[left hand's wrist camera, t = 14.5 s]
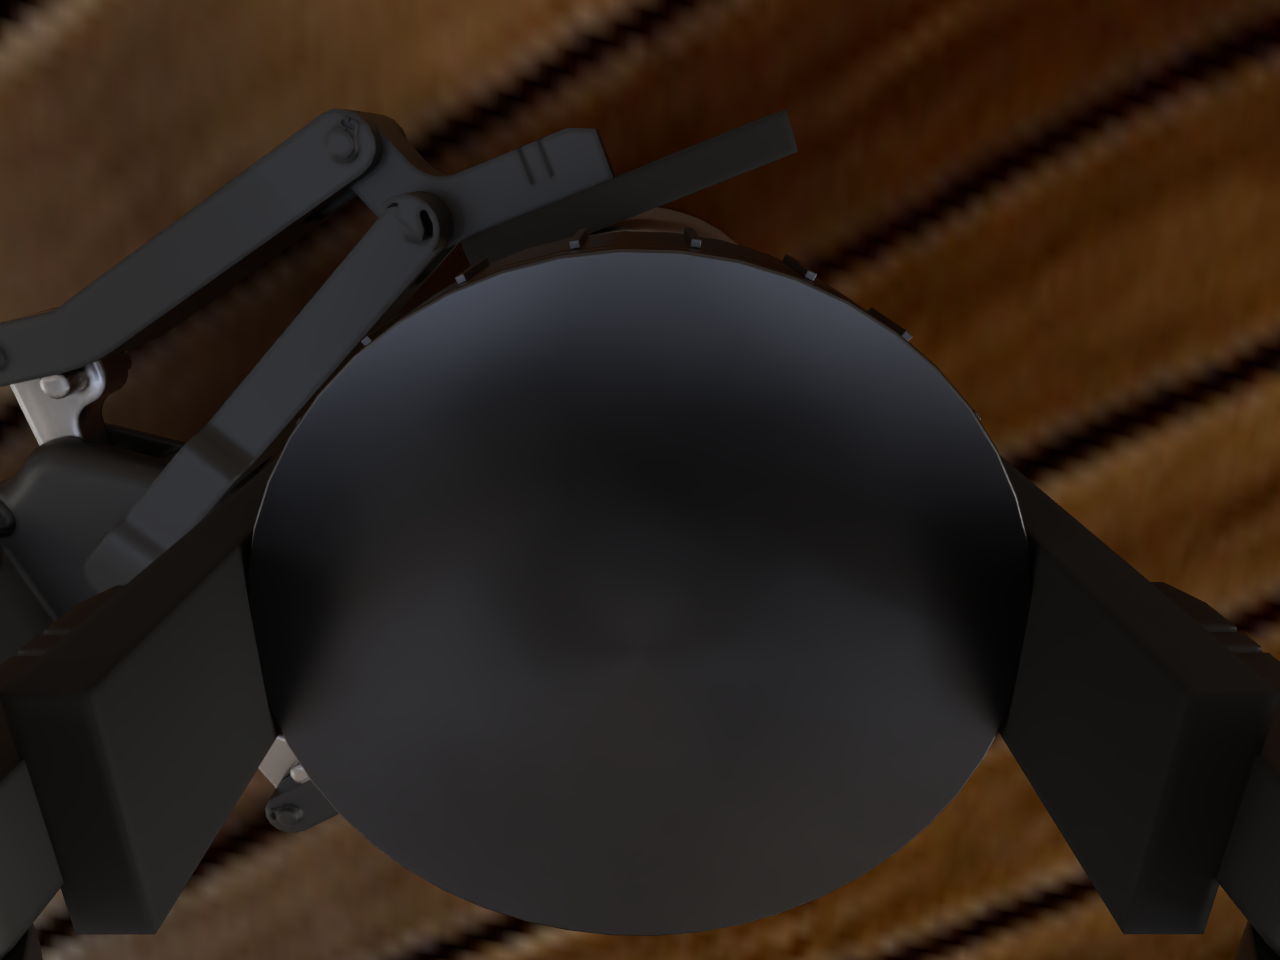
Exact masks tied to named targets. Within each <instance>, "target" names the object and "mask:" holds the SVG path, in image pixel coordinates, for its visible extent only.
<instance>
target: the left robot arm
mask: <svg viewBox="0 0 1280 960" xmlns="http://www.w3.org/2000/svg"><path fill="white" fill-rule="evenodd" d="M279 456H280V455H279ZM279 456H278V457H277V458H275V459H274V460H273V461H272V462H271V463H270V464H268V465H267V466H266V467H265V468H264V469H262V470H261V471H260V472H259V473H258V474H257V475H255V476H254V477H253V478H252V479H251V480H249V481H248V482H247V483H246V484H245V485H243V486H242V487H241V488H240V489H239V490H238V491H236V492H235V493H234V494H233V495H232V496H230V497H229V498H228V499H227V500H226V501H225V502H223V503H222V504H221V505H220V506H219V507H217V508H216V509H215V510H214V511H213V512H211V513H210V514H209V515H208V516H207V517H206V518H204V519H203V520H202V521H201V522H200V523H198V524H197V525H196V526H195V527H194V528H193V529H191V530H190V531H189V532H188V533H187V534H185V535H184V536H183V537H182V538H181V539H179V540H178V541H177V542H176V543H175V544H174V545H172V546H171V547H170V548H169V549H168V550H166V551H165V552H164V553H163V554H162V555H161V556H159V557H158V558H157V559H156V560H155V561H153V562H152V563H151V564H150V565H149V566H147V567H146V568H145V569H144V570H143V571H142V572H140V573H139V574H138V575H137V576H136V577H134V578H133V579H132V580H131V581H130V582H129V583H127V584H126V585H116V586H114V587H112V588H110V589H108V590H106V591H104V592H102V593H100V594H98V595H96V596H93V597H91V598H89V599H87V600H85V601H83V602H81V603H79V604H77V605H75V606H73V607H72V608H71V609H70V610H68V611H67V612H66V613H65V614H63V615H62V616H61V617H60V618H58V619H57V620H56V621H55V622H53V623H52V624H51V625H50V626H48V627H47V628H46V629H45V630H44V634H43V635H37V636H36V637H35V638H34V639H32V640H31V641H30V642H29V643H27V644H26V645H25V646H24V647H22V648H21V649H20V650H19V651H18V656H11V657H10V658H9V659H7V660H6V661H5V662H4V663H2V664H1V665H0V960H42V954H41V947H40V942H39V939H38V936H37V933H36V930H35V927H34V925H33V922H34V921H35V920H36V918H37V917H38V916H39V914H40V913H41V912H42V911H43V909H44V908H45V907H46V906H47V904H48V903H49V902H50V900H51V899H52V898H53V897H54V895H55V894H56V893H57V892H58V890H59V889H60V888H61V890H62V893H63V896H64V900H65V903H66V906H67V909H68V912H69V915H70V918H71V921H72V924H73V927H74V931H75V934H156V932H157V931H158V929H159V927H160V926H161V924H162V923H163V921H164V919H165V918H166V916H167V914H168V913H169V911H170V910H171V908H172V906H173V905H174V903H175V902H176V900H177V898H178V897H179V895H180V893H181V892H182V890H183V889H184V887H185V885H186V884H187V882H188V880H189V879H190V877H191V876H192V874H193V872H194V871H195V869H196V868H197V866H198V864H199V863H200V861H201V859H202V858H203V856H204V855H205V853H206V851H207V850H208V848H209V847H210V845H211V843H212V842H213V840H214V838H215V837H216V835H217V834H218V832H219V830H220V829H221V827H222V825H223V824H224V822H225V821H226V819H227V817H228V816H229V814H230V813H231V811H232V809H233V808H234V806H235V804H236V803H237V801H238V800H239V798H240V796H241V795H242V793H243V792H244V790H245V788H246V787H247V785H248V783H249V782H250V780H251V779H252V777H253V775H254V774H255V772H256V770H257V769H258V767H259V766H260V764H261V762H262V761H263V759H264V758H265V756H266V754H267V753H268V751H269V749H270V748H271V746H272V745H273V743H274V741H275V740H276V738H277V736H278V735H279V733H280V732H281V730H280V728H279V726H278V724H277V722H276V720H275V718H274V716H273V714H272V711H271V709H270V707H269V705H268V701H267V697H266V692H265V687H264V683H263V677H262V672H261V667H260V661H259V656H258V651H257V645H256V640H255V635H254V629H253V624H252V619H251V613H250V607H249V601H248V589H247V571H248V564H249V557H250V550H251V543H252V535H253V528H254V524H255V521H256V517H257V514H258V511H259V507H260V504H261V501H262V497H263V494H264V491H265V488H266V484H267V481H268V479H269V477H270V474H271V472H272V470H273V468H274V466H275V464H276V462H277V460H278V458H279ZM1000 457H1001V456H1000ZM1001 459H1002V461H1003V464H1004V466H1005V469H1006V471H1007V473H1008V476H1009V478H1010V480H1011V483H1012V485H1013V488H1014V490H1015V492H1016V495H1017V498H1018V502H1019V506H1020V510H1021V514H1022V518H1023V522H1024V526H1025V530H1026V534H1027V538H1028V544H1029V555H1030V566H1031V577H1032V597H1031V603H1030V609H1029V615H1028V620H1027V626H1026V631H1025V636H1024V642H1023V647H1022V652H1021V658H1020V663H1019V668H1018V674H1017V679H1016V684H1015V689H1014V694H1013V698H1012V701H1011V704H1010V707H1009V709H1008V712H1007V715H1006V718H1005V720H1004V722H1003V724H1002V725H1001V727H1000V729H999V733H1000V735H1001V736H1002V738H1003V740H1004V741H1005V743H1006V744H1007V746H1008V748H1009V749H1010V751H1011V752H1012V754H1013V756H1014V757H1015V759H1016V761H1017V762H1018V764H1019V765H1020V767H1021V769H1022V770H1023V772H1024V774H1025V775H1026V777H1027V778H1028V780H1029V782H1030V783H1031V785H1032V786H1033V788H1034V790H1035V791H1036V793H1037V795H1038V796H1039V798H1040V799H1041V801H1042V803H1043V804H1044V806H1045V808H1046V809H1047V811H1048V812H1049V814H1050V816H1051V817H1052V819H1053V820H1054V822H1055V824H1056V825H1057V827H1058V829H1059V830H1060V832H1061V833H1062V835H1063V837H1064V838H1065V840H1066V842H1067V843H1068V845H1069V846H1070V848H1071V850H1072V851H1073V853H1074V854H1075V856H1076V858H1077V859H1078V861H1079V863H1080V864H1081V866H1082V867H1083V869H1084V871H1085V872H1086V874H1087V875H1088V877H1089V879H1090V880H1091V882H1092V884H1093V885H1094V887H1095V888H1096V890H1097V892H1098V893H1099V895H1100V897H1101V898H1102V900H1103V901H1104V903H1105V905H1106V906H1107V908H1108V909H1109V911H1110V913H1111V914H1112V916H1113V918H1114V919H1115V921H1116V922H1117V924H1118V926H1119V927H1120V929H1121V931H1122V932H1123V934H1203V933H1204V930H1205V927H1206V924H1207V921H1208V918H1209V915H1210V912H1211V908H1212V905H1213V902H1214V899H1215V896H1216V893H1217V890H1218V887H1219V884H1220V885H1221V887H1222V888H1223V889H1224V891H1225V892H1226V893H1227V894H1228V896H1229V897H1230V898H1231V899H1232V901H1233V902H1234V903H1235V904H1236V906H1237V907H1238V908H1239V910H1240V911H1241V912H1242V913H1243V915H1244V916H1245V917H1246V918H1247V920H1248V922H1247V925H1246V927H1245V930H1244V933H1243V936H1242V939H1241V942H1240V945H1239V948H1238V951H1237V954H1236V956H1235V959H1234V960H1280V662H1279V661H1278V660H1277V659H1276V658H1274V657H1273V656H1272V655H1271V654H1269V653H1262V647H1261V646H1259V645H1258V644H1257V643H1256V642H1254V641H1253V640H1252V639H1251V638H1249V637H1248V636H1247V635H1245V634H1244V633H1243V632H1237V631H1236V627H1235V626H1234V625H1233V624H1232V623H1230V622H1229V621H1228V620H1227V619H1225V618H1224V617H1223V616H1222V615H1220V614H1219V613H1218V612H1217V611H1215V610H1214V609H1213V608H1212V607H1210V606H1209V605H1208V604H1207V603H1205V602H1203V601H1201V600H1199V599H1197V598H1195V597H1193V596H1191V595H1189V594H1187V593H1184V592H1182V591H1180V590H1178V589H1176V588H1174V587H1172V586H1170V585H1168V584H1166V583H1164V582H1149V581H1148V580H1147V579H1146V578H1145V577H1143V576H1142V575H1141V574H1140V573H1139V572H1137V571H1136V570H1135V569H1134V568H1133V567H1132V566H1130V565H1129V564H1128V563H1127V562H1126V561H1124V560H1123V559H1122V558H1121V557H1120V556H1119V555H1117V554H1116V553H1115V552H1114V551H1113V550H1111V549H1110V548H1109V547H1108V546H1107V545H1105V544H1104V543H1103V542H1102V541H1101V540H1100V539H1098V538H1097V537H1096V536H1095V535H1094V534H1092V533H1091V532H1090V531H1089V530H1088V529H1087V528H1085V527H1084V526H1083V525H1082V524H1081V523H1079V522H1078V521H1077V520H1076V519H1075V518H1074V517H1072V516H1071V515H1070V514H1069V513H1068V512H1066V511H1065V510H1064V509H1063V508H1062V507H1060V506H1059V505H1058V504H1057V503H1056V502H1055V501H1053V500H1052V499H1051V498H1050V497H1049V496H1047V495H1046V494H1045V493H1044V492H1043V491H1042V490H1040V489H1039V488H1038V487H1037V486H1036V485H1034V484H1033V483H1032V482H1031V481H1030V480H1028V479H1027V478H1026V477H1025V476H1024V475H1023V474H1021V473H1020V472H1019V471H1018V470H1017V469H1015V468H1014V467H1013V466H1012V465H1011V464H1010V463H1008V462H1007V461H1006V460H1005V459H1004V458H1002V457H1001Z"/></svg>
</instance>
